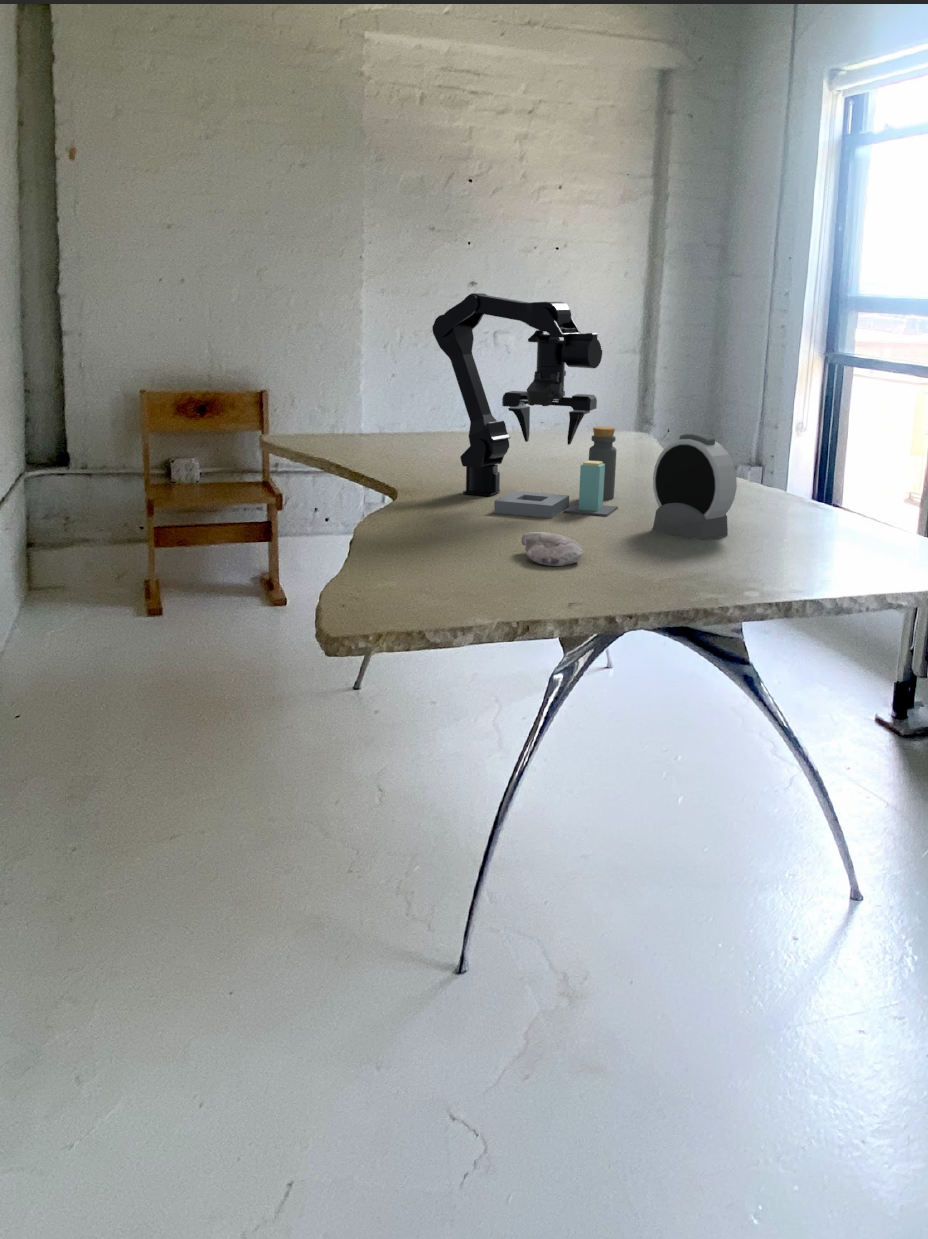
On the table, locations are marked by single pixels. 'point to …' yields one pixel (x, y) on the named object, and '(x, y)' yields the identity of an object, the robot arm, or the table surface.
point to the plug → (591, 485)
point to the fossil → (551, 549)
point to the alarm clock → (694, 488)
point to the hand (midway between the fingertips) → (547, 443)
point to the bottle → (605, 457)
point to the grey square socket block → (531, 504)
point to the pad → (602, 512)
